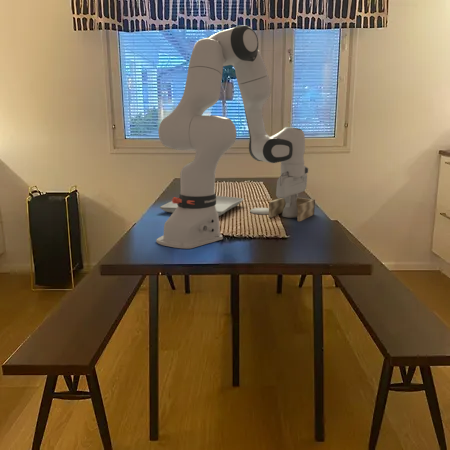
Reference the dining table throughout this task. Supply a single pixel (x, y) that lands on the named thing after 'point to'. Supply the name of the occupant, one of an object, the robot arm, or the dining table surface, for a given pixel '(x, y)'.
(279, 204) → the u-shaped wooden frame
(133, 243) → the dining table surface
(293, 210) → the flask
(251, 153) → the robot arm
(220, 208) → the square plate
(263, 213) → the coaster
